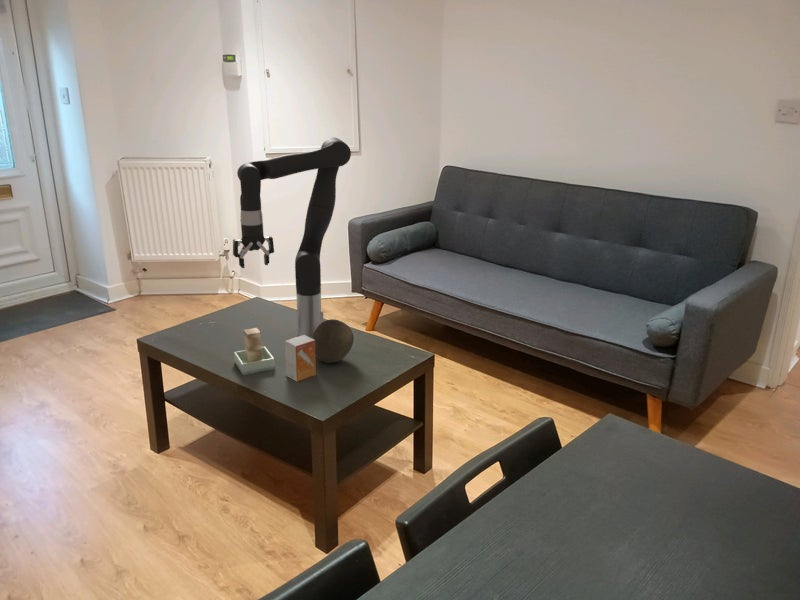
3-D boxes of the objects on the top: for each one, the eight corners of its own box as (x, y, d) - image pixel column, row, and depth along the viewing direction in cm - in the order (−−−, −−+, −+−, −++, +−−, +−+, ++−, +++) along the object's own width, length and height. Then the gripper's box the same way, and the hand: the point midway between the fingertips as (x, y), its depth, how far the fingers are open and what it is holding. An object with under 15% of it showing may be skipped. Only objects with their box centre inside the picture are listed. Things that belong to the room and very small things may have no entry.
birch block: (258, 359, 235) (256, 327, 231) (262, 364, 231) (260, 332, 227) (246, 361, 233) (243, 329, 229) (249, 366, 229) (247, 334, 225)
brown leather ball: (329, 373, 227) (328, 332, 222) (304, 360, 237) (303, 320, 232) (361, 361, 237) (361, 322, 232) (336, 349, 246) (335, 311, 241)
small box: (296, 382, 221) (295, 346, 216) (285, 375, 225) (284, 340, 221) (316, 374, 226) (315, 339, 222) (305, 368, 231) (304, 334, 226)
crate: (265, 356, 239) (264, 346, 238) (274, 369, 230) (274, 358, 229) (234, 362, 234) (233, 352, 233) (243, 375, 225) (242, 364, 224)
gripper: (234, 226, 228) (237, 271, 233) (274, 222, 234) (277, 266, 240) (228, 221, 234) (232, 265, 240) (268, 217, 240) (270, 261, 246)
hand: (254, 266), depth 240 cm, fingers open, 8 cm apart
